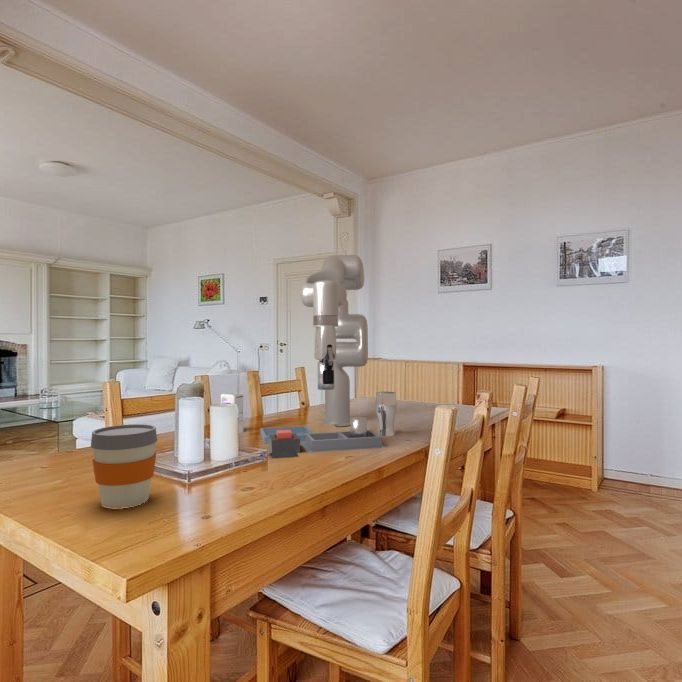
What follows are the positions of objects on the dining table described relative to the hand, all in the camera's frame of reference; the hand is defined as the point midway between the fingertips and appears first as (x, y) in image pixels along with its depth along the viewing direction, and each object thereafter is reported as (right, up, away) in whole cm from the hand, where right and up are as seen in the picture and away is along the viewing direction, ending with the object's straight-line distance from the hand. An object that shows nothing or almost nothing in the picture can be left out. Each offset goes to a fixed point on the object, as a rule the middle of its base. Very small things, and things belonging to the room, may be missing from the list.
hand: (326, 382), depth 145 cm
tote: (-13, -20, +13) cm, 28 cm away
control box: (-12, -20, -5) cm, 24 cm away
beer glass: (+20, -20, +17) cm, 33 cm away
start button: (-12, -17, -5) cm, 21 cm away
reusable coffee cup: (-40, -21, -45) cm, 64 cm away
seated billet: (+10, -19, +3) cm, 22 cm away
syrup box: (-33, -20, +21) cm, 44 cm away
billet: (0, -2, 0) cm, 2 cm away
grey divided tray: (+5, -20, +1) cm, 21 cm away
